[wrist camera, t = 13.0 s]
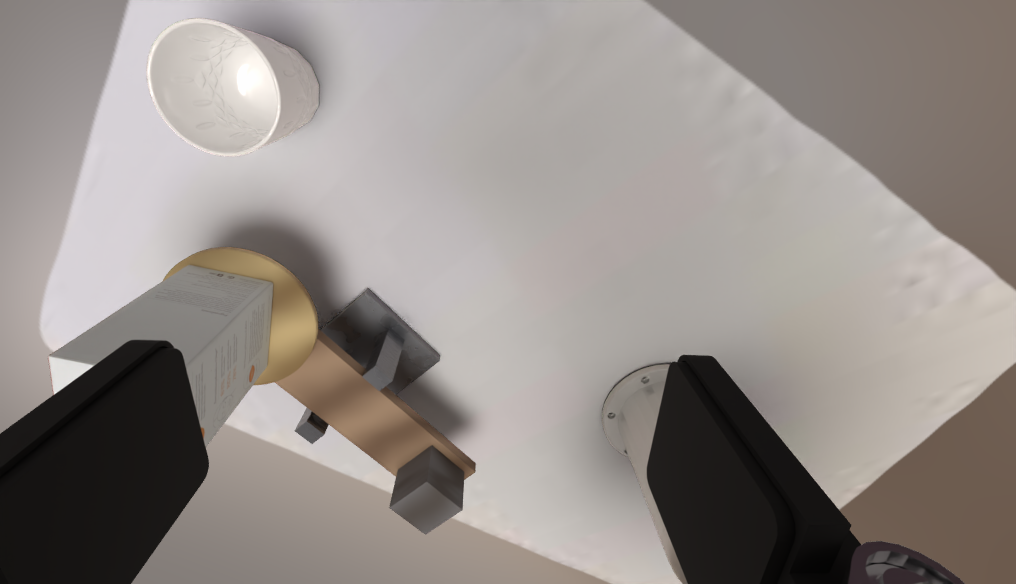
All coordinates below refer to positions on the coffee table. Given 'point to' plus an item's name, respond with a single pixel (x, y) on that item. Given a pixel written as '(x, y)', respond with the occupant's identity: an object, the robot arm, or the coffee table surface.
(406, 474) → the beam
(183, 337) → the small box
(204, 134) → the white cup
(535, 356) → the coffee table surface
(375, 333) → the beam stand
